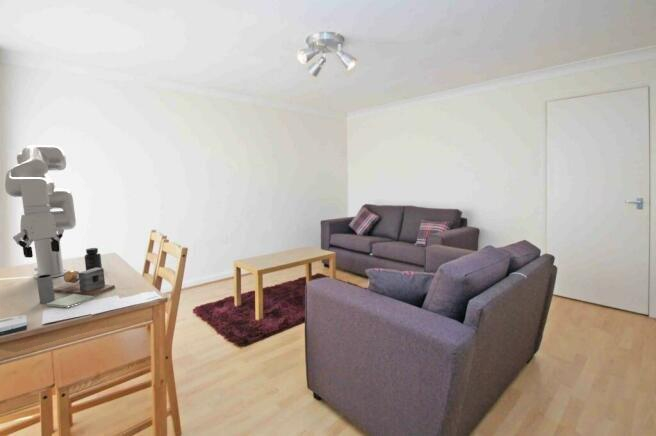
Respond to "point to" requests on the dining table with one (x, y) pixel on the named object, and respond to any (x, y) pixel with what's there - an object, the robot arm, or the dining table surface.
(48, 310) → the dining table surface
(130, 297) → the dining table surface
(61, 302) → the tile
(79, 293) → the shaft stand
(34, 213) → the robot arm
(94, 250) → the supplement bottle
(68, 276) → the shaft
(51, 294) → the grey open cylinder
